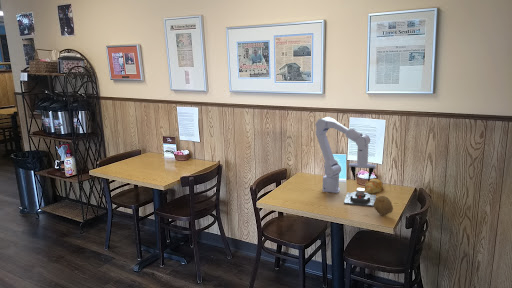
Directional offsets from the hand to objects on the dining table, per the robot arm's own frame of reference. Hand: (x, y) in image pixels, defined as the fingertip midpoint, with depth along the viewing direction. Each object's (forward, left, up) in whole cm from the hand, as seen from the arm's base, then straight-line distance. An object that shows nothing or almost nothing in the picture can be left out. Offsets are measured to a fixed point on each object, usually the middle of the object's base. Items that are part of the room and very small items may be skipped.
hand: (361, 180), depth 215 cm
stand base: (0, -5, -10) cm, 11 cm away
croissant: (+6, +15, -10) cm, 19 cm away
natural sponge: (+12, -22, -10) cm, 27 cm away
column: (0, -5, -10) cm, 11 cm away
